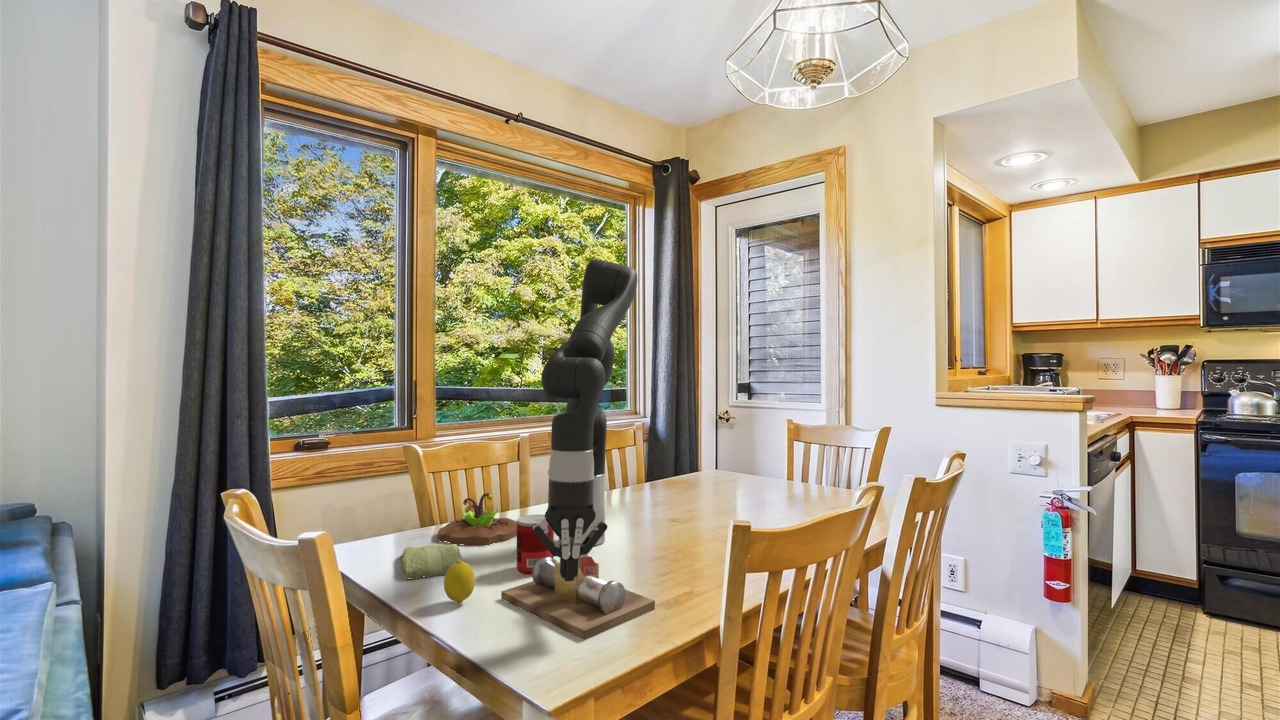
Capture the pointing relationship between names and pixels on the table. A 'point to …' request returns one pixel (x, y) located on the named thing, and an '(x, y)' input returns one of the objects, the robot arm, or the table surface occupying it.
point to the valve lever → (587, 565)
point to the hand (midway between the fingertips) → (568, 579)
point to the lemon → (459, 581)
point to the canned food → (530, 543)
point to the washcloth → (429, 560)
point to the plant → (478, 526)
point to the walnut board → (574, 609)
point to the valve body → (580, 586)
